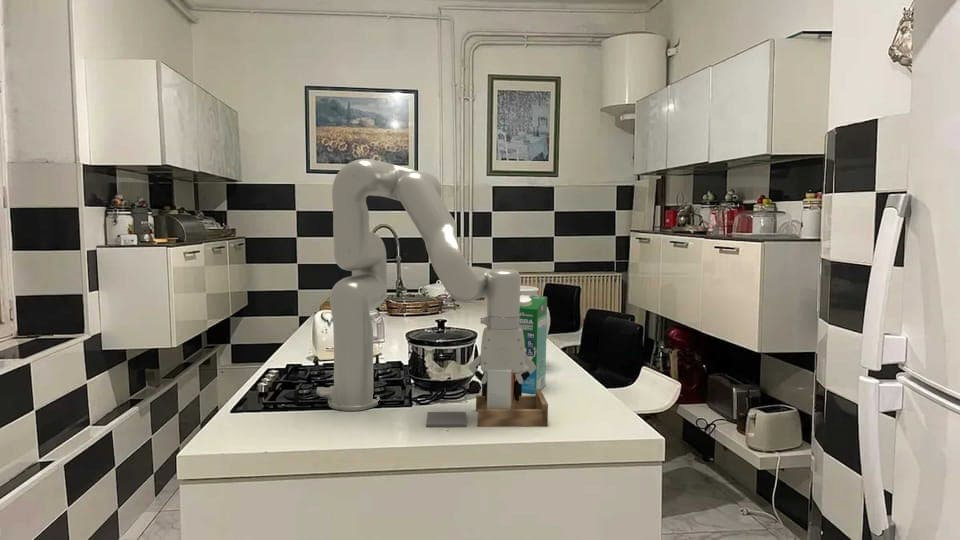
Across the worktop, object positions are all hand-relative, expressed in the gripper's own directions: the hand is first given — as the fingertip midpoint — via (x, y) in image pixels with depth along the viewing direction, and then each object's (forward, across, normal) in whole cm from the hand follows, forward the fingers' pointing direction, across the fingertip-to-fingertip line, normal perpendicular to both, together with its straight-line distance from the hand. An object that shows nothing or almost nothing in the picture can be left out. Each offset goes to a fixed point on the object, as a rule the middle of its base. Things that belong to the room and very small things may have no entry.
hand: (501, 398), depth 150 cm
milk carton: (+5, +8, +25) cm, 27 cm away
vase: (+5, +9, +47) cm, 48 cm away
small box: (+3, 0, 0) cm, 3 cm away
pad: (+5, -13, -2) cm, 14 cm away
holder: (+4, +2, 0) cm, 5 cm away
